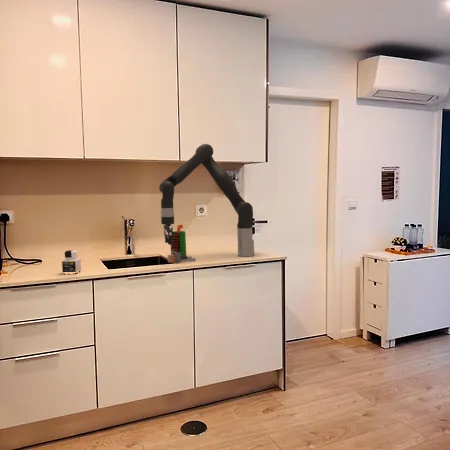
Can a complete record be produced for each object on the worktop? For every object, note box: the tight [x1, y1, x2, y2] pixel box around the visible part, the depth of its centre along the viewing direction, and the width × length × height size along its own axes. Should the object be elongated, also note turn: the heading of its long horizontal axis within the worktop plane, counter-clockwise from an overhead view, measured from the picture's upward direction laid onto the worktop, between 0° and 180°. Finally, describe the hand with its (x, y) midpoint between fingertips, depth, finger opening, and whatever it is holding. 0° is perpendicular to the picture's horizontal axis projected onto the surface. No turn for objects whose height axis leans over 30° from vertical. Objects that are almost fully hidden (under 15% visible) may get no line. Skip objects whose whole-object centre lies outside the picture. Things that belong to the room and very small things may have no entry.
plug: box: [167, 254, 188, 264], centre depth 245 cm, size 11×4×4 cm, turn 111°
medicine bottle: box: [61, 249, 82, 273], centre depth 218 cm, size 7×7×12 cm
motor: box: [170, 224, 187, 256], centre depth 262 cm, size 10×9×20 cm
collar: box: [172, 250, 196, 264], centre depth 246 cm, size 12×12×6 cm
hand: (168, 243), depth 242 cm, fingers open, 8 cm apart
